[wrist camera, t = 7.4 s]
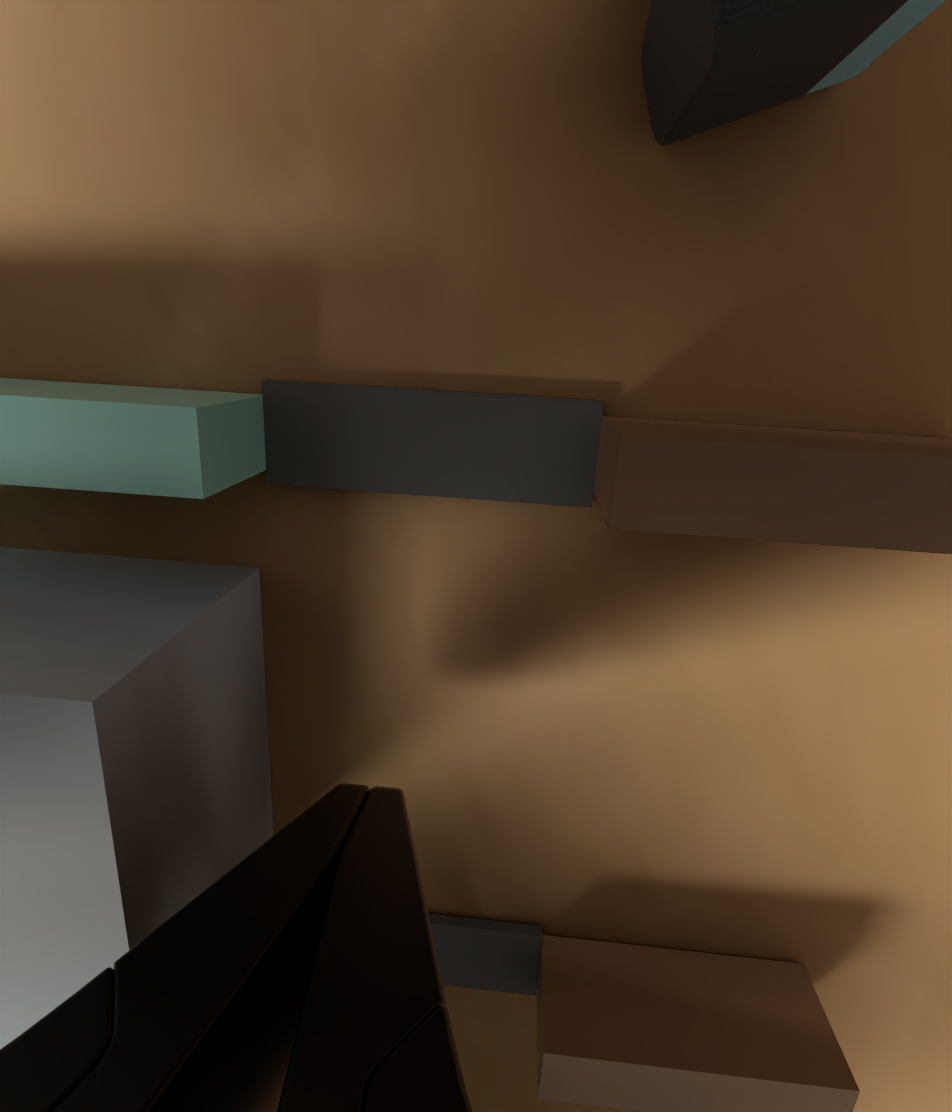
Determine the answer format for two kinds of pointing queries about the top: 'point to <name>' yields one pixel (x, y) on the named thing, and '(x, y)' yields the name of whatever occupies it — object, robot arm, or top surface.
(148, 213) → the top surface
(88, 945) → the block
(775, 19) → the push button
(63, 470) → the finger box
